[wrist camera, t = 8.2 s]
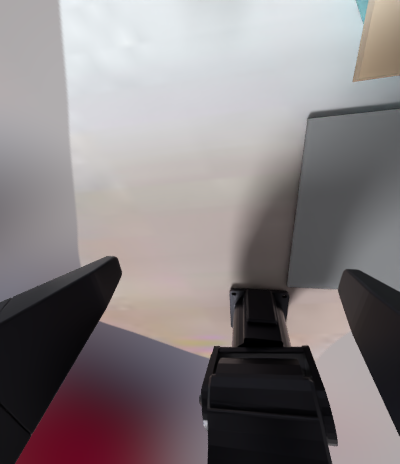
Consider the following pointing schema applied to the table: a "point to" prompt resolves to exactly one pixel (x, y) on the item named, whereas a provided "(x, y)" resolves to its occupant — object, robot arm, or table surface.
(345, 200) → the mat
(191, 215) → the table surface
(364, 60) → the cover board
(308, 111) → the table surface
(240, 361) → the robot arm
